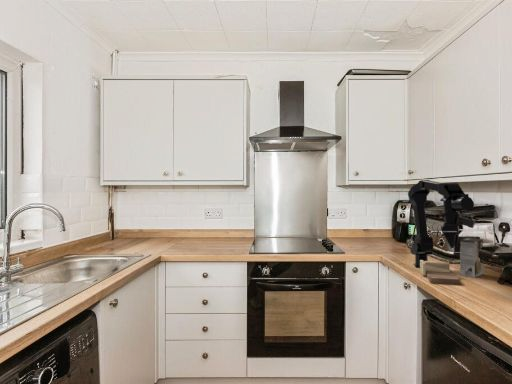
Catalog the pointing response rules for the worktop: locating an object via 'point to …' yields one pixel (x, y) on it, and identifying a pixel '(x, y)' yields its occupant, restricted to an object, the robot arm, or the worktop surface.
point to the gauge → (433, 266)
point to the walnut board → (442, 277)
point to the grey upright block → (470, 257)
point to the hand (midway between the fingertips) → (453, 247)
